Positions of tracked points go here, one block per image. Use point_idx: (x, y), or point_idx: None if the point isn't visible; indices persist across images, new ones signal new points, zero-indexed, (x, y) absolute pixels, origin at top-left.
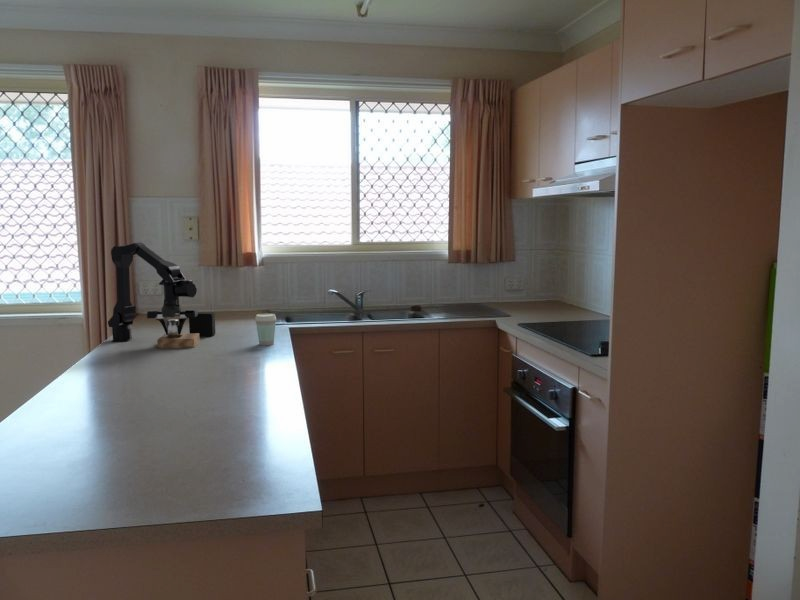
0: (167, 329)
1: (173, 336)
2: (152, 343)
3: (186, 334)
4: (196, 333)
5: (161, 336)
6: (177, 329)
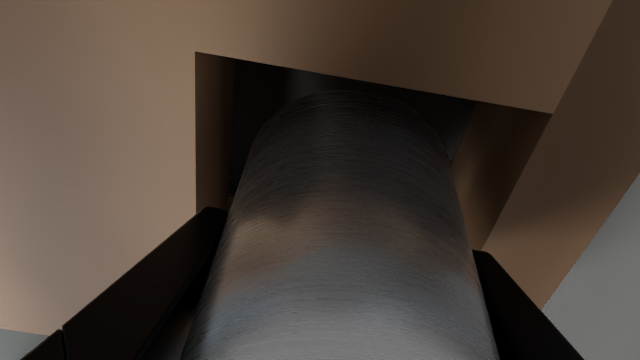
0: (494, 338)
1: (343, 136)
2: (604, 295)
3: None
4: (13, 321)
5: (560, 278)
6: (217, 284)
